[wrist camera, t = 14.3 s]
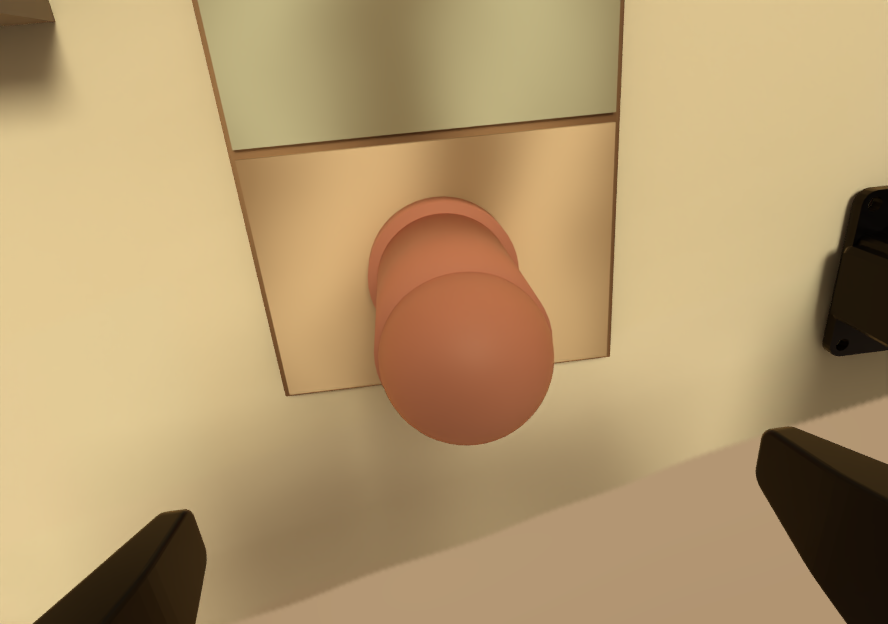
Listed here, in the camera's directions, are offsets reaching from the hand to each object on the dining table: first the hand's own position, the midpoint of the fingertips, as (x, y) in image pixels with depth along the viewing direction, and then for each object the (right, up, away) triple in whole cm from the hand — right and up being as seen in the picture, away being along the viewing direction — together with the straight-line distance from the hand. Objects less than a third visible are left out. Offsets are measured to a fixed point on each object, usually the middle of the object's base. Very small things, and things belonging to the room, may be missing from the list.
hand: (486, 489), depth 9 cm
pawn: (-1, +4, +10) cm, 11 cm away
